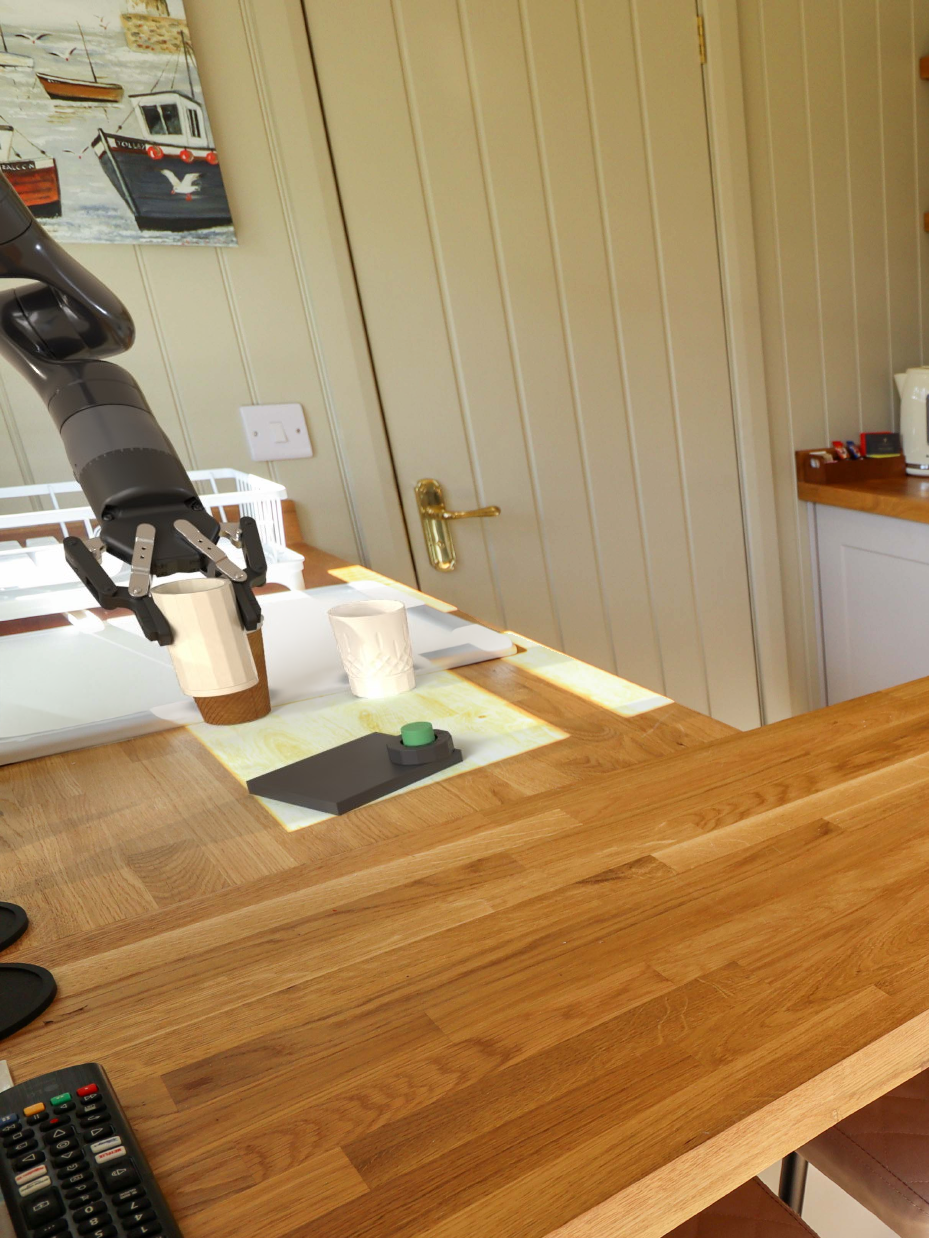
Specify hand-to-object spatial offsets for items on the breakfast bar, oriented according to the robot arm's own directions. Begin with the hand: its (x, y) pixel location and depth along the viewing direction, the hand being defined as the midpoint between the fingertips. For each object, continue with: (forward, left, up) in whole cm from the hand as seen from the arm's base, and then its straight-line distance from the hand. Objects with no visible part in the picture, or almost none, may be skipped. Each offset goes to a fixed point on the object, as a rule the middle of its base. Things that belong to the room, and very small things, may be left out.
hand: (210, 632), depth 92 cm
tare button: (+14, -4, -15) cm, 21 cm away
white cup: (+29, +20, -18) cm, 39 cm away
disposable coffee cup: (+16, +27, -18) cm, 36 cm away
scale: (+10, 0, -17) cm, 20 cm away
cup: (+1, +2, -5) cm, 6 cm away
